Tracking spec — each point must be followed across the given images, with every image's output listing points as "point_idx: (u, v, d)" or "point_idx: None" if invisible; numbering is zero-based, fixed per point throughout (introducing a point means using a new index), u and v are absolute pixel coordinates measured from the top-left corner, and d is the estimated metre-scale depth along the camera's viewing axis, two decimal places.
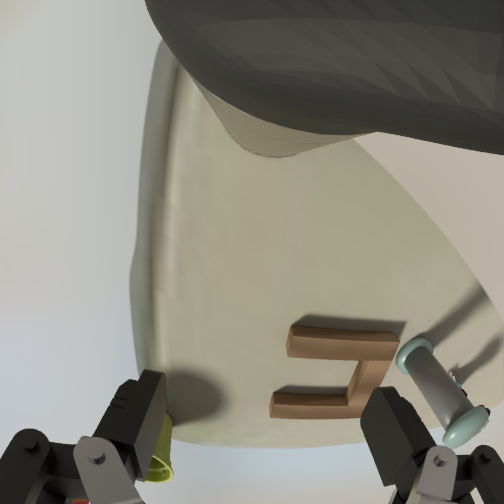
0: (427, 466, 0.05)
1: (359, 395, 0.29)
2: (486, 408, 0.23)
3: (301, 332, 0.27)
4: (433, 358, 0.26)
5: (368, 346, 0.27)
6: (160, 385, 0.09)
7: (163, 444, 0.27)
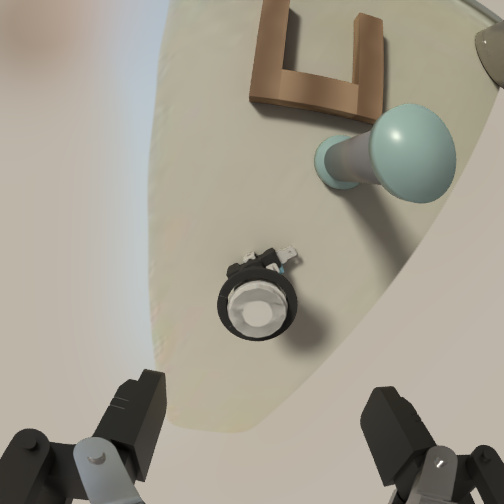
0: (427, 466, 0.05)
1: (301, 80, 0.21)
2: None
3: None
4: None
5: (376, 83, 0.21)
6: (160, 385, 0.09)
7: None
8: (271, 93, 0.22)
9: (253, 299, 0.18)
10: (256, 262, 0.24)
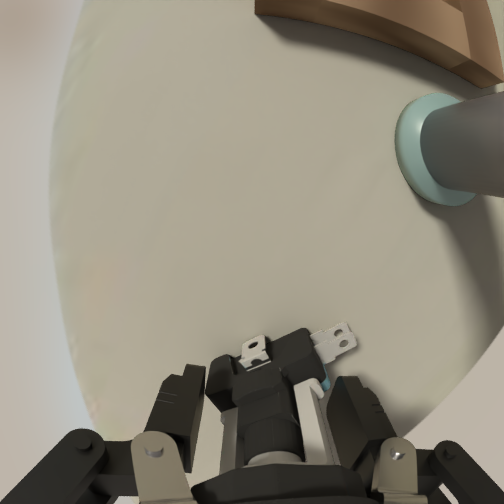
0: (384, 461, 0.06)
1: None
2: None
3: None
4: None
5: (485, 19, 0.06)
6: (203, 378, 0.09)
7: None
8: None
9: None
10: (272, 385, 0.09)
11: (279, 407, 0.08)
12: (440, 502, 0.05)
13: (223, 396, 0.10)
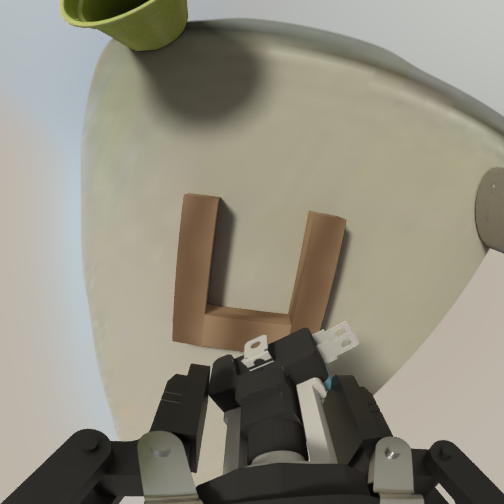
0: (379, 461, 0.06)
1: (225, 326, 0.23)
2: None
3: None
4: None
5: (314, 319, 0.23)
6: (208, 378, 0.09)
7: (149, 22, 0.13)
8: (194, 340, 0.23)
9: None
10: (275, 384, 0.09)
11: (282, 407, 0.08)
12: (437, 502, 0.05)
13: (226, 396, 0.10)
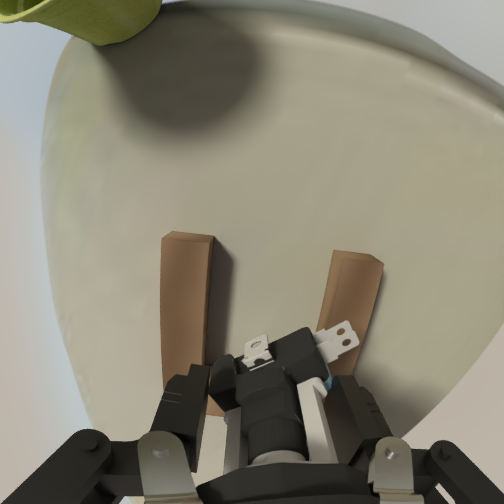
0: (379, 461, 0.06)
1: None
2: None
3: None
4: None
5: None
6: (208, 378, 0.09)
7: (101, 3, 0.08)
8: None
9: None
10: (276, 384, 0.09)
11: (283, 406, 0.08)
12: (437, 502, 0.05)
13: (226, 396, 0.10)
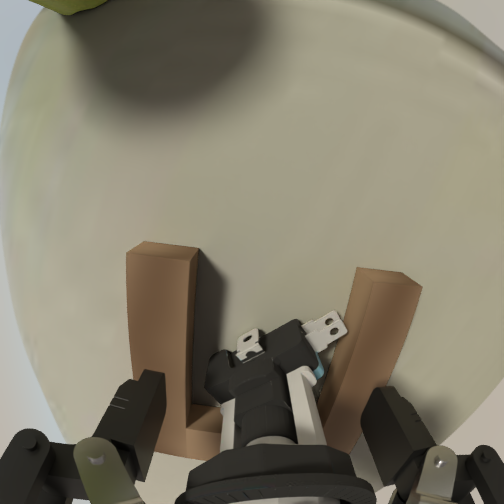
0: (427, 466, 0.05)
1: (218, 442, 0.13)
2: None
3: None
4: None
5: (354, 427, 0.13)
6: (160, 385, 0.09)
7: None
8: (175, 451, 0.13)
9: None
10: (265, 374, 0.10)
11: (272, 394, 0.09)
12: None
13: (222, 388, 0.11)
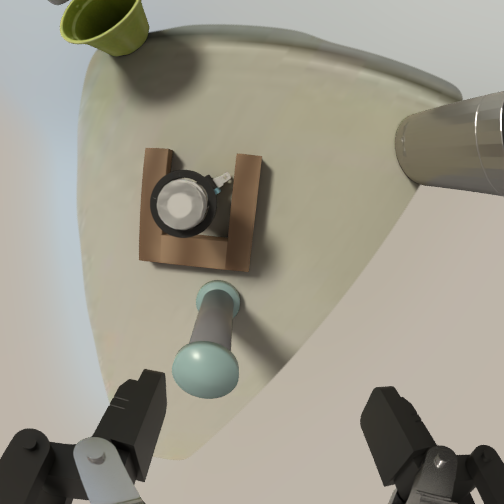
0: (427, 466, 0.05)
1: (176, 244, 0.30)
2: (215, 209, 0.22)
3: None
4: None
5: (245, 236, 0.30)
6: (160, 385, 0.09)
7: (119, 37, 0.20)
8: (154, 257, 0.30)
9: (174, 192, 0.20)
10: None
11: None
12: None
13: None
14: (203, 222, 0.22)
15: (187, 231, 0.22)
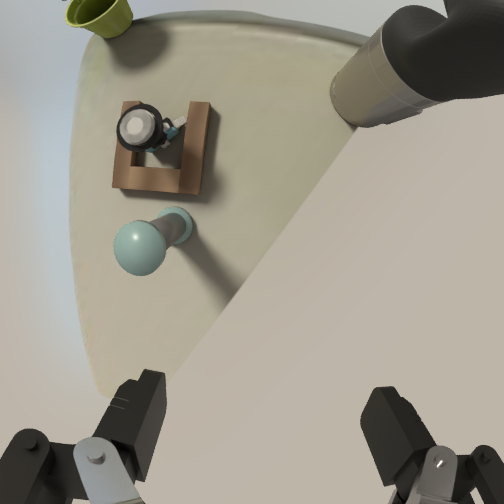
0: (427, 466, 0.05)
1: (141, 173, 0.34)
2: (162, 130, 0.27)
3: (209, 110, 0.33)
4: (181, 232, 0.35)
5: (195, 164, 0.34)
6: (160, 385, 0.09)
7: (107, 22, 0.25)
8: (124, 185, 0.35)
9: (132, 117, 0.25)
10: None
11: None
12: None
13: None
14: (152, 139, 0.27)
15: (140, 146, 0.27)
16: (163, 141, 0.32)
